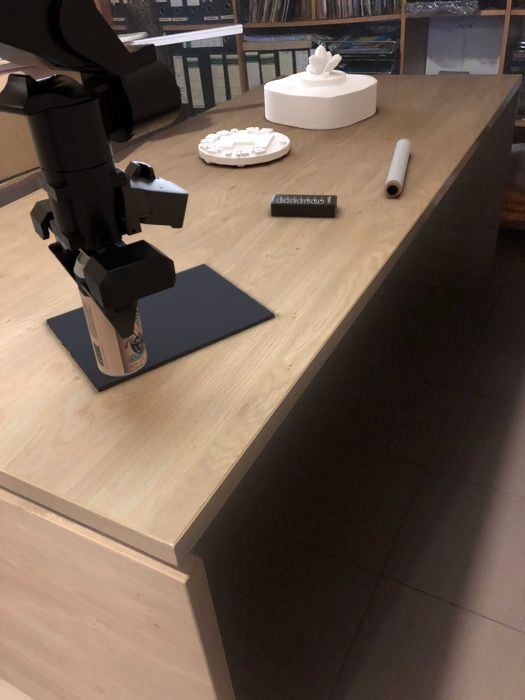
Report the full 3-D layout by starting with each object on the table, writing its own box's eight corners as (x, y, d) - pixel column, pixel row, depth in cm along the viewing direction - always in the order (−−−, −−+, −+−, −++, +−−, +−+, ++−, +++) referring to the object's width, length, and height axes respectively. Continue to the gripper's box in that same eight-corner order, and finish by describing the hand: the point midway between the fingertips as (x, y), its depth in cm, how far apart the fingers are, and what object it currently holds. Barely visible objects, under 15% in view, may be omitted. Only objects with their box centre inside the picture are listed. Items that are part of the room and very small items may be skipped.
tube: (400, 199, 105) (410, 153, 124) (402, 182, 103) (411, 138, 123) (383, 198, 106) (395, 153, 125) (384, 181, 104) (397, 138, 123)
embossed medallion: (258, 174, 119) (257, 159, 118) (181, 161, 128) (179, 148, 126) (305, 145, 133) (305, 131, 131) (232, 136, 142) (231, 123, 140)
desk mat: (98, 391, 66) (97, 388, 66) (46, 322, 78) (45, 319, 78) (274, 317, 76) (274, 313, 76) (204, 266, 89) (204, 263, 88)
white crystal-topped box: (388, 108, 154) (393, 39, 144) (330, 133, 139) (331, 58, 130) (312, 97, 168) (311, 33, 158) (252, 118, 153) (247, 49, 144)
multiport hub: (275, 206, 106) (274, 193, 104) (337, 207, 104) (337, 194, 102) (270, 216, 102) (270, 203, 101) (334, 218, 100) (335, 205, 99)
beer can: (142, 380, 57) (119, 267, 50) (93, 380, 57) (64, 268, 50) (152, 350, 61) (132, 243, 54) (106, 351, 61) (80, 244, 54)
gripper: (224, 165, 44) (240, 338, 53) (124, 116, 57) (151, 262, 66) (80, 205, 39) (125, 387, 48) (6, 142, 52) (53, 295, 61)
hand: (116, 324), depth 56 cm, fingers closed on beer can, 5 cm apart
